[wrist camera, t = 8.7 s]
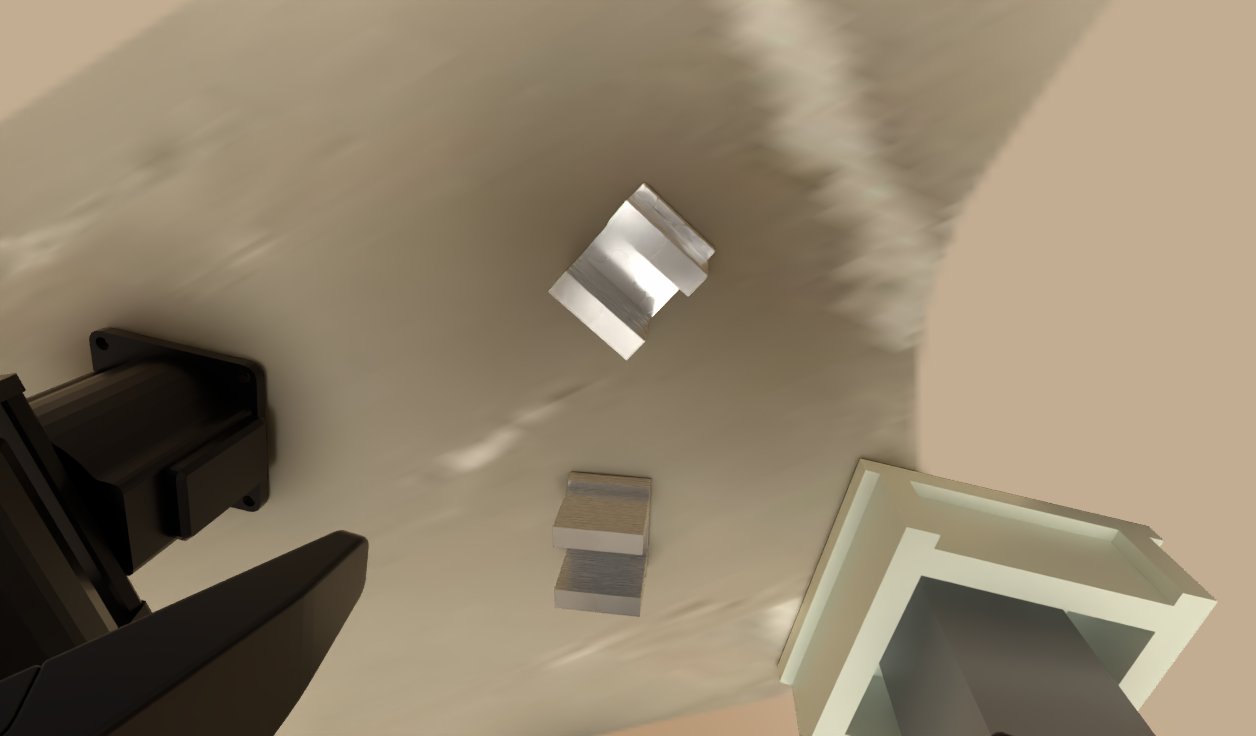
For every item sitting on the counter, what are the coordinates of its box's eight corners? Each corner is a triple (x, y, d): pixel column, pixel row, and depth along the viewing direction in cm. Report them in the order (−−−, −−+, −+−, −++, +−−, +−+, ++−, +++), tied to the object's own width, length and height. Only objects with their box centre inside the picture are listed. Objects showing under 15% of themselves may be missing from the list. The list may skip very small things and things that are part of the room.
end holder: (777, 666, 25) (788, 752, 22) (860, 458, 22) (889, 522, 18) (1021, 726, 25) (1072, 824, 22) (1148, 526, 21) (1235, 605, 18)
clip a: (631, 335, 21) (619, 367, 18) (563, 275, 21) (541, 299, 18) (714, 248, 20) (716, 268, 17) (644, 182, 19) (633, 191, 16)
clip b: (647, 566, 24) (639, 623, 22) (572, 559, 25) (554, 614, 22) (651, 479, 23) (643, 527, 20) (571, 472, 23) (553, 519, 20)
